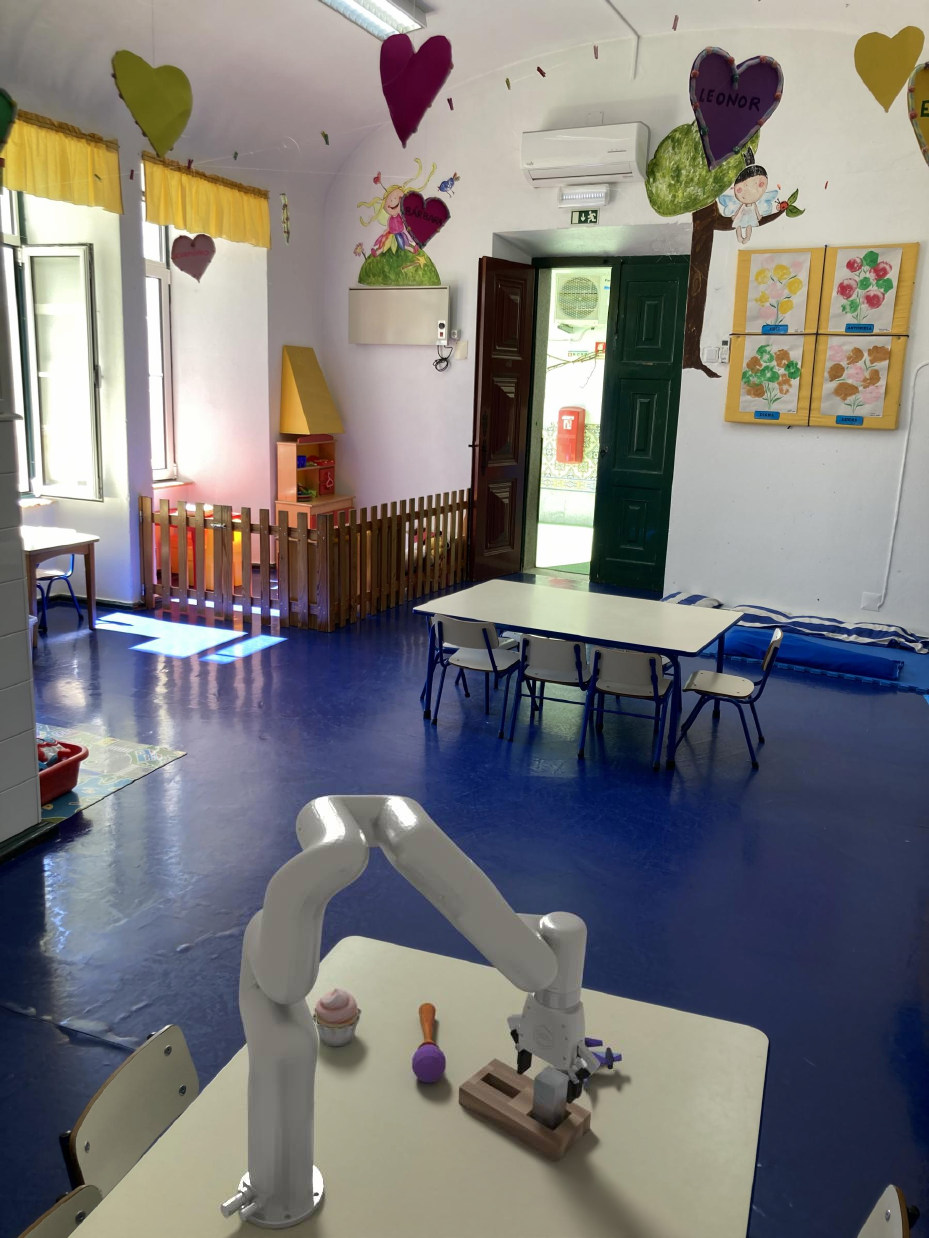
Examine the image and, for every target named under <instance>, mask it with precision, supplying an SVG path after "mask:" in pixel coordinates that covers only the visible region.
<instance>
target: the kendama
mask: <svg viewBox="0 0 929 1238" xmlns="http://www.w3.org/2000/svg"><path fill="white" fill-rule="evenodd" d="M436 1012H437V1010H436V1007H435V1005H433V1003H431V1002H425V1003H422V1004H421V1005H420V1006H419V1007H418V1015H419V1020H420V1024H421V1028H422V1033H423V1038H424V1040H423V1042H421V1043H420V1045H419V1046H418V1047H417V1049H416V1051H415V1053H414V1054H413V1056H412V1058H411V1059H412V1060H411V1061H412V1062H411V1064H412V1065H411V1069H412V1071H413V1073H414V1075H415V1077H417V1078H418V1079H419V1081H422V1082H425V1083H433V1082H436V1081H438V1080H439V1079H440V1078H441V1077H442V1076H443V1075H444V1073H445V1071H446V1065H447V1064H446V1063H447V1062H446V1056H445V1054H444V1051H442V1050H441V1049H440V1047H439V1046H438V1044H437V1043H435V1042H434V1041H433V1040H432V1039H433V1038H432V1037H433V1032H434V1031H433V1030H434V1026H435V1024H434V1023H435V1019H436Z"/></svg>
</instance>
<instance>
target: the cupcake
mask: <svg viewBox="0 0 929 1238" xmlns="http://www.w3.org/2000/svg"><path fill="white" fill-rule="evenodd" d="M312 1010H313V1014H311V1015H312V1018H313V1021H314V1024H315V1027H316V1030H317V1034H318V1035H319V1036H318V1037H319V1040H320V1041H321V1042H322V1043H323V1044H324V1045H327V1046H330V1047H342V1046H345V1045H347V1044H349V1043H351V1041H352V1039H353V1038H354V1036H355V1034H356V1029H357V1026H358V1024H359V1022H360V1020H361V1014H362V1012H363V1010H362V1009H361V1008H359V1004H358V1003H357V1001H356V999H355V997H354V996H353V995H352V994H351V993H350V992H348V991H346V990H343V989H340V988H336V987H335V988H334V989H332V990H330V991H328V992H327V993H325V994H324V995H323V996H322V997H321V998H319V999H318V1000H317V1002H316V1004H315V1006H314V1007H313V1009H312Z"/></svg>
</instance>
